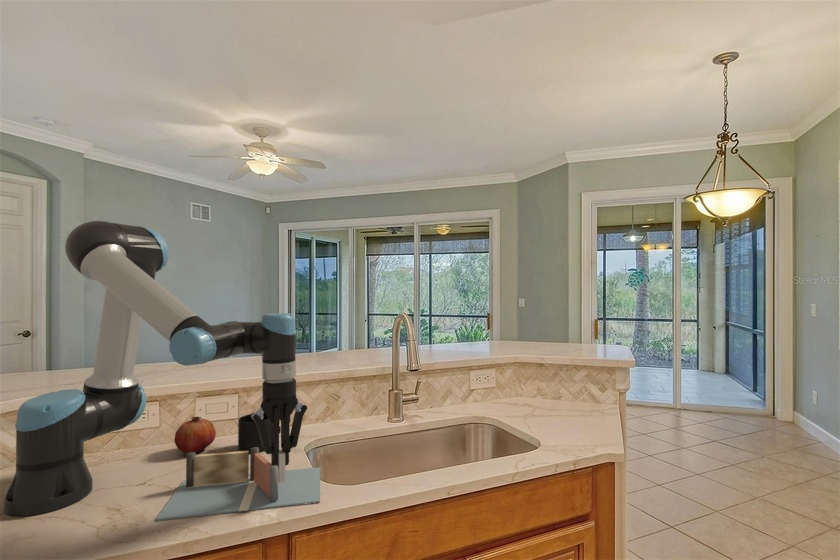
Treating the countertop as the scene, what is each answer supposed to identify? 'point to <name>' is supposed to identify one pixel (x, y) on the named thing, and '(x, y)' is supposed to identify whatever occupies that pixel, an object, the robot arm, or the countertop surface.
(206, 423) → the fruit
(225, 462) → the fence fixed
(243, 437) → the mug
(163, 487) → the countertop surface
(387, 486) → the countertop surface
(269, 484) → the fence panel
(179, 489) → the mat
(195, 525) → the countertop surface
